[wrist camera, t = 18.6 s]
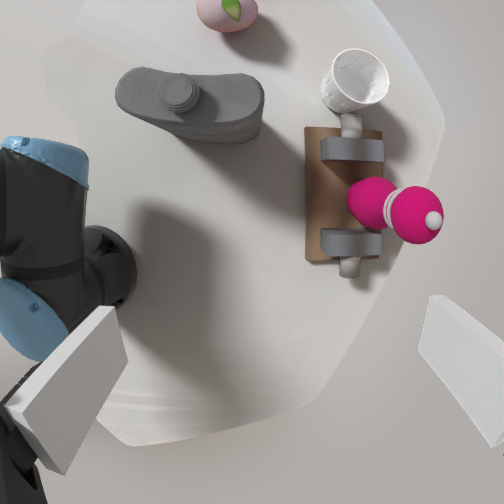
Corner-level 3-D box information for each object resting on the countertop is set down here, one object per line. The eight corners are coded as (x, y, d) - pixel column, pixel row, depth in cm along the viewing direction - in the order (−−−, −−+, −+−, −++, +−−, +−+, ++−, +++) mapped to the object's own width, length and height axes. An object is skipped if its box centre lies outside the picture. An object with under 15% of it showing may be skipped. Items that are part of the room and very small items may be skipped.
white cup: (372, 103, 40) (400, 88, 30) (335, 126, 41) (357, 114, 31) (344, 63, 38) (365, 40, 29) (305, 84, 40) (319, 63, 30)
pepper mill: (357, 166, 41) (430, 167, 22) (393, 192, 42) (475, 210, 23) (334, 207, 43) (393, 236, 24) (371, 231, 44) (442, 273, 24)
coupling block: (304, 267, 47) (312, 281, 41) (303, 118, 41) (312, 110, 35) (374, 264, 47) (390, 277, 40) (377, 123, 41) (395, 117, 35)
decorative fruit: (193, 14, 36) (180, -16, 26) (237, -5, 35) (234, -38, 25) (218, 53, 38) (209, 25, 28) (265, 32, 37) (268, 1, 27)
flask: (159, 137, 42) (96, 116, 22) (166, 101, 40) (110, 59, 21) (256, 150, 42) (258, 131, 23) (262, 113, 41) (270, 68, 21)
